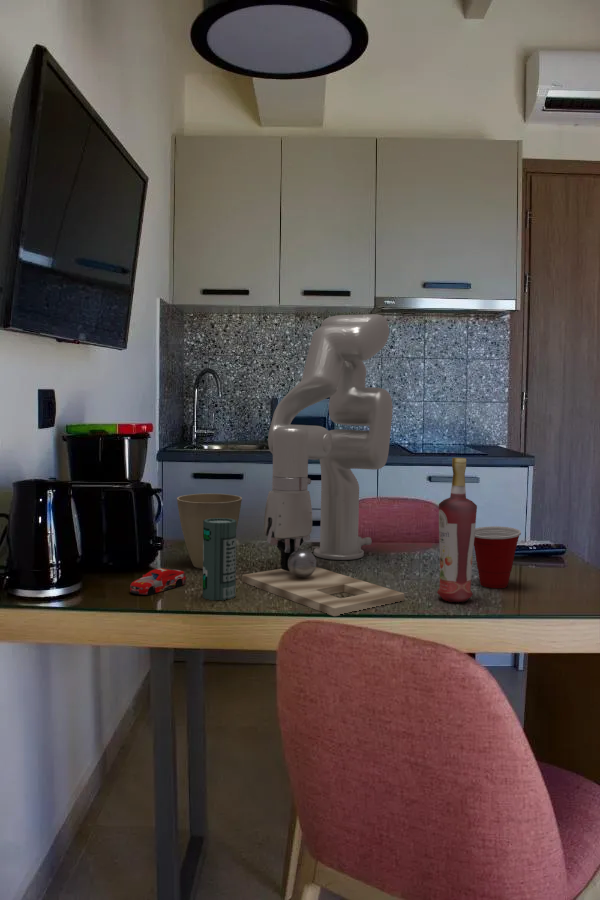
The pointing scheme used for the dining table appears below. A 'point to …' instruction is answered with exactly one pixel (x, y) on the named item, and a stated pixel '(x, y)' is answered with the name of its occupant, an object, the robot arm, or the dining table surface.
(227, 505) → the plant pot
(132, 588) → the race car
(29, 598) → the dining table surface
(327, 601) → the wooden recessed tray
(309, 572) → the steel ball
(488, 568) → the plastic cup
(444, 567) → the liquor
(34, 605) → the dining table surface
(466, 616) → the dining table surface
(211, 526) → the can
